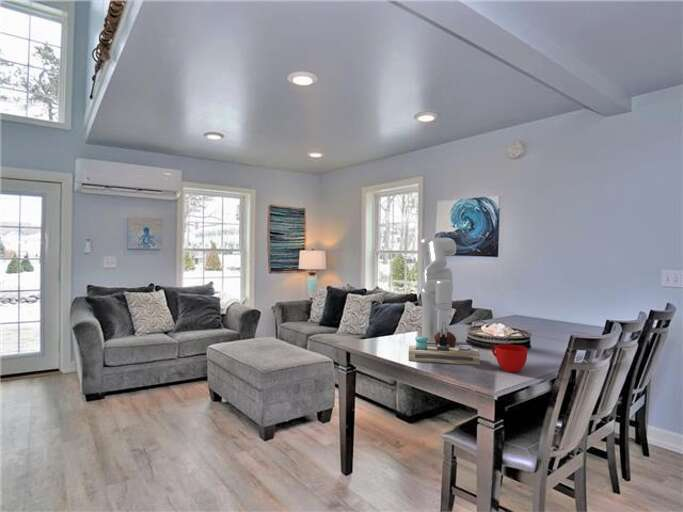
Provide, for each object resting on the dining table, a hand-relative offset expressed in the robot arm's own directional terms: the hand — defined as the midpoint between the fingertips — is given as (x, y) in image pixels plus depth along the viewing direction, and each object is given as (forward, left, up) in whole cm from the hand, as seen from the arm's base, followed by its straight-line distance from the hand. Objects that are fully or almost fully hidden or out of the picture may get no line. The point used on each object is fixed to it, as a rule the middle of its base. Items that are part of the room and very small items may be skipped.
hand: (443, 345), depth 198 cm
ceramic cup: (+10, +27, -7) cm, 30 cm away
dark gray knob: (0, 0, -7) cm, 7 cm away
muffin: (-20, +2, -7) cm, 22 cm away
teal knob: (0, -10, -4) cm, 11 cm away
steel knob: (0, +10, -7) cm, 12 cm away
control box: (0, 0, -7) cm, 7 cm away
